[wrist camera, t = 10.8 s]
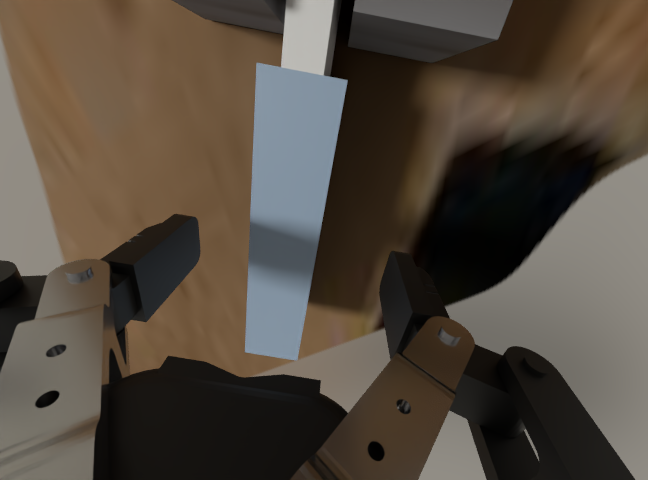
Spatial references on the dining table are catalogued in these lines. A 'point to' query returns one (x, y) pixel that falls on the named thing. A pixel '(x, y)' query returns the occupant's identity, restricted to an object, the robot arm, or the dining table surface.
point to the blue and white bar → (291, 175)
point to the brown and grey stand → (383, 23)
